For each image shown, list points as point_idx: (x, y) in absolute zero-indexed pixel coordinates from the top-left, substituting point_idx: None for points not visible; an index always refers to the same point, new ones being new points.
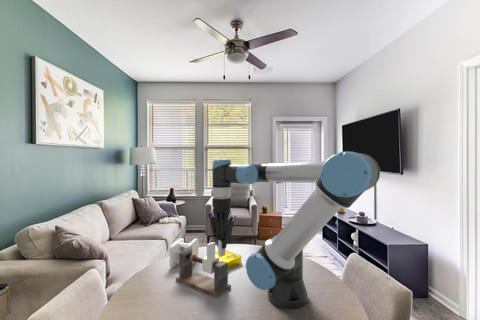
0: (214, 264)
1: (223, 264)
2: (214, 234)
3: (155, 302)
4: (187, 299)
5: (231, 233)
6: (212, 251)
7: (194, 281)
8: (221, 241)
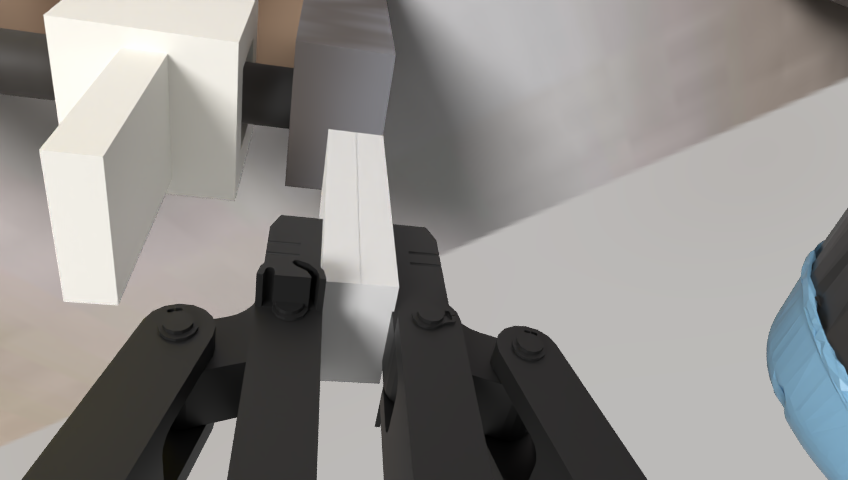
0: (246, 121)
1: (379, 131)
2: (191, 448)
3: (40, 313)
4: (184, 207)
5: (605, 421)
6: (147, 154)
7: (27, 31)
8: (380, 361)
